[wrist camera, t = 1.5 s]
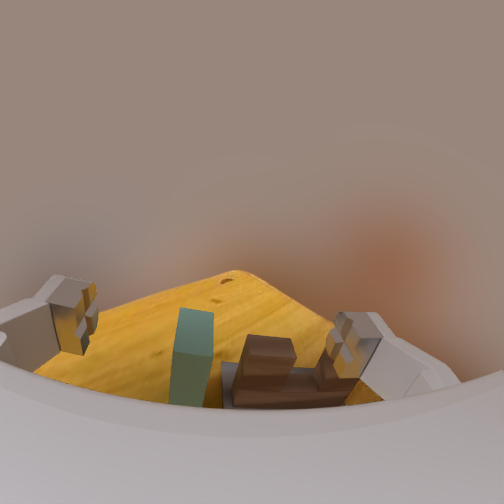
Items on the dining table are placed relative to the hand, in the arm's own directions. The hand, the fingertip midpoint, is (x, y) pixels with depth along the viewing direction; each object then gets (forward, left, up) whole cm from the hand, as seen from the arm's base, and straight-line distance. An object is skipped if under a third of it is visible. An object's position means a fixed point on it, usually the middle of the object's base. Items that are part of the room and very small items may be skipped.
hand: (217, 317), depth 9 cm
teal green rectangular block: (-2, +12, -23) cm, 26 cm away
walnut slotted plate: (+10, +16, -23) cm, 30 cm away
